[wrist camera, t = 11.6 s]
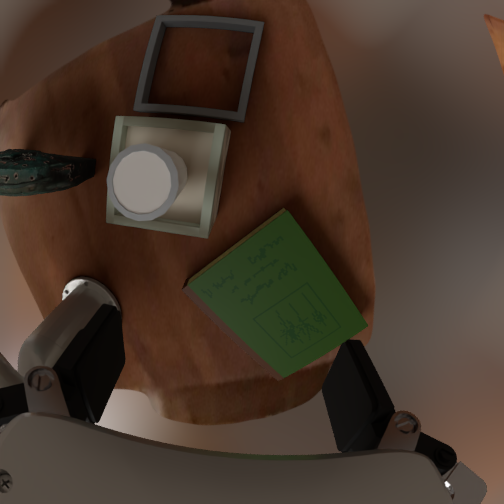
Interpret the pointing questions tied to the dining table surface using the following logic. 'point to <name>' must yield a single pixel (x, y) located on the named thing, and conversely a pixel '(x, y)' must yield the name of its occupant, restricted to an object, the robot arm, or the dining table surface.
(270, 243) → the hardcover book
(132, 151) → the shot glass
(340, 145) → the dining table surface
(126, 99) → the dining table surface
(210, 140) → the stand
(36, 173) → the ceramic cat
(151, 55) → the dark grey square frame
